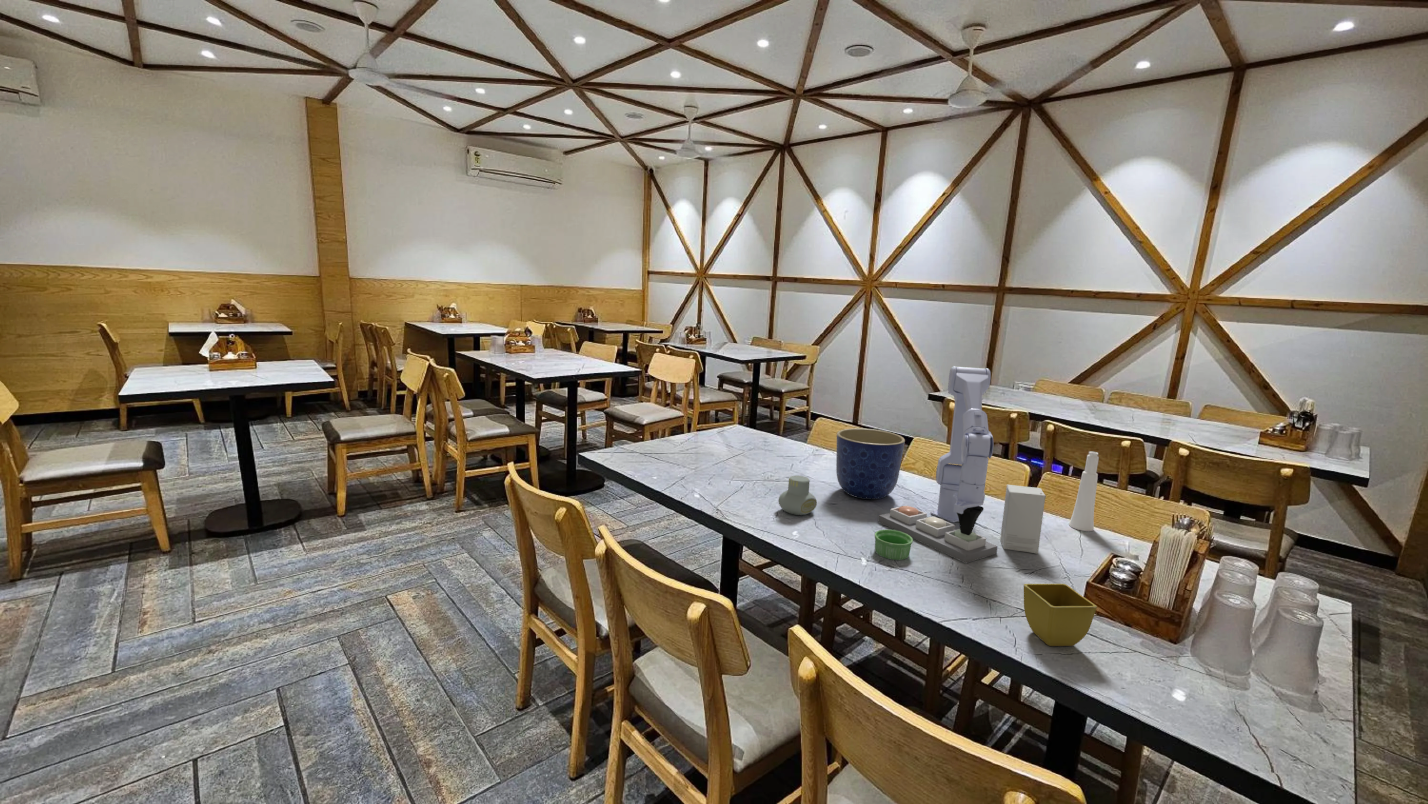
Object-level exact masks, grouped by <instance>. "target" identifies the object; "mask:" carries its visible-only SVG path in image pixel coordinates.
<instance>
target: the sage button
mask: <svg viewBox="0 0 1428 804" xmlns="http://www.w3.org/2000/svg"><path fill="white" fill-rule="evenodd" d="M958 529H959V530H956V531H955V536H956V537H958V538H961V539H963V540H965V541H967V542H970V541H973V540H976V537H977V535H976V534H977V533H975V532H973V531H972V533H971V534H970V535H966V534H963V533H961V531H960V528H958Z"/></svg>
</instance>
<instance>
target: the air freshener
mask: <svg viewBox="0 0 1428 804" xmlns="http://www.w3.org/2000/svg"><path fill="white" fill-rule="evenodd" d="M787 486H788V487H787V490H785V491H783V492H782V493H781V494H780V495H779V497H778V500H777V501H778V502H777V503H778V505H779V507H780V508H781V509H782V510H783V511H784V512H787V513H788V514H790V515H795V516H806V515H808V514H810V513H812V512H814V511H815V509H816V508H817V504H818V502H817V499H816V497H815V496H814V495H813V493H811V492H810V479H809V478H808V477H807V476H803V475H791V476H790V477H788V485H787Z"/></svg>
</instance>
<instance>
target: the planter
mask: <svg viewBox="0 0 1428 804" xmlns="http://www.w3.org/2000/svg"><path fill="white" fill-rule="evenodd" d="M905 442H906V439H905V438H904V437H903V436H902V435H899V434H896V433H894V432H890V431H886V430H879V429H873V428H858V427H857V428H845V429H840V430H838V431H837V433H836V459H835V461H836V469H835V471H836V472H835V473H836V479H837V482H838V484H839V486H840V488H841V489H842V490H843V491H844V492H845V493H846V494H848V495H850V496H853V497H854V498H859V499H862V500H863V499H864V500H879V499H883V498H885V497H887V496H889V495H890V494H891V493H892V492H893V491H894V489H895V487H896V485H897V483H898V481H899V477H900V472H901V471H900V470H901V464H902V459H903V455H904V454H903V453H904V448H905V444H906V443H905Z"/></svg>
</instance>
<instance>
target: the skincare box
mask: <svg viewBox="0 0 1428 804" xmlns="http://www.w3.org/2000/svg"><path fill="white" fill-rule="evenodd" d="M1005 489H1006V490H1005V499H1004V505H1003V512H1002V513H1003V515H1002V520H1001V521H1002V522H1001V528H1000V537H999V539H1000V543H1001V546H1002V548H1003V550H1008V551H1010V550H1011V551H1018V552H1025V553H1031V554H1037V555H1038V553H1039V549H1040V539H1041V534H1042V533H1041V532H1042V524H1043V518H1044V517H1043V516H1044V510H1045V509H1044V508H1045V504H1046V503H1045V502H1046V501H1045V500H1046V498H1047V495H1046V494H1045V493H1044V492H1043V490H1042V488H1041V487H1033V486H1032V487H1031V486H1026V485H1025V486H1023V485H1014V484H1006V488H1005Z"/></svg>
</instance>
